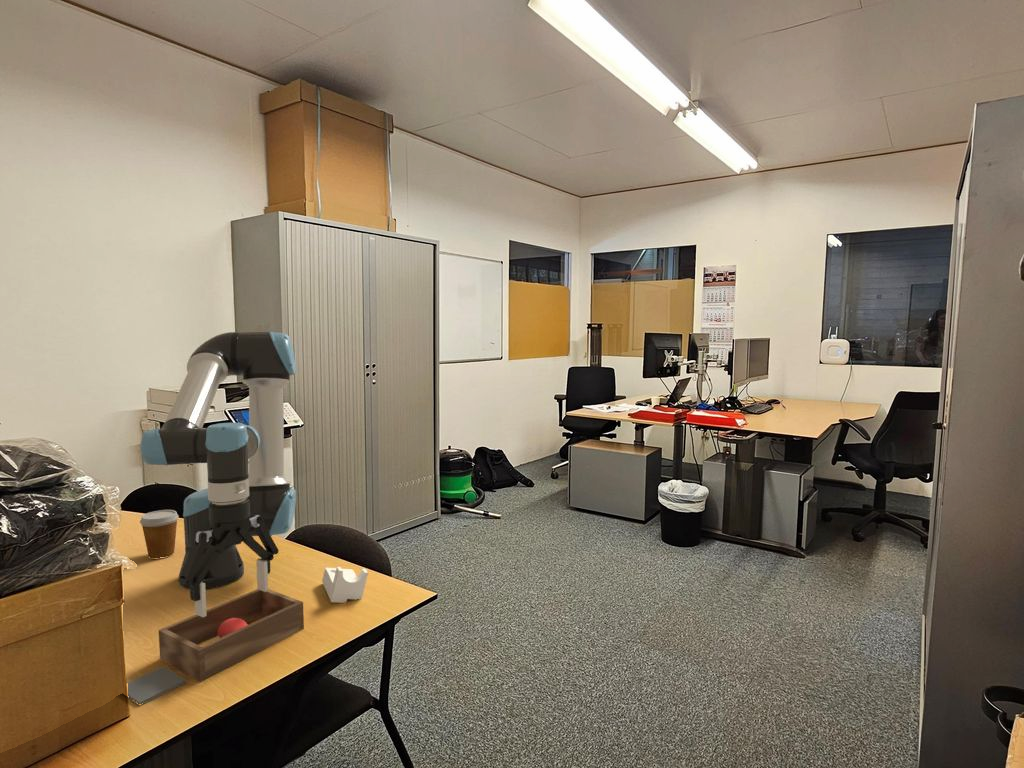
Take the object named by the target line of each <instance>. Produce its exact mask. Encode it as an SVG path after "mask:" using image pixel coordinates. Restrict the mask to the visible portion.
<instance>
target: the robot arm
mask: <svg viewBox="0 0 1024 768" xmlns="http://www.w3.org/2000/svg"><path fill="white" fill-rule="evenodd" d="M186 363H187V364H186V372H187V374H186V376H185V378H184V380H183V383H182V384H181V387H180V389H179V391H178V393H177V396H176V397H175V399H174V402H173V403H172V405H171V408H170V410H169V412H168V414H167V416H166V418H165V421H164V423H163V424H162V426H161V429H160V428H155V429H148V430H147V431H145V432H144V433H143V435H142V437H141V439H140V455H141V457H142V460H143V462H144V463H145V464H147V465H150V466H151V465H152V466H154V465H155V466H159V465H160V466H173V465H189V464H206V468H207V472H206V473H207V488H203V489H201V490H198V491H195V492H193V493H190V494H189V495H188V496H187V497H185V498H184V501H183V512H182V517H183V529H184V543H185V544H184V546H185V554H184V557H183V560H182V563H181V566H180V571H179V574H178V583H179V586H180V587H182V588H184V589H186V590H187V589H188V590H189V598H190V600H191V601H192V602H194V613H195V614H194V615H198V616H201V617H205V616H207V613H206V610H207V595H206V593H207V592H206V590H210V589H215V588H219V587H224V586H226V585H230V584H232V583H234V582H237V580H239V579H241V578H242V577H243V575H244V573H245V565H244V562H243V561H244V560H243V559H242V557H241V555H240V552H239V550H238V547H237V545H241V544H242V543H244V544H245V545H246V546H247V547H248V548H250V550H252V551H253V552H254V553H255V554H256V555H257V556H258V557H259V558H257V559H256V586H257V587H256V590H257V589H258V590H261V591H264V592H266V591H268V589H269V577H268V575H269V574H270V573H271V561H273V560H274V555H278V553H279V549H278V547H277V545H276V543H275V541H274V540H273V537H272V536H275V535H277V536H278V535H283V534H286V533H288V532H289V531H290V529H291V527H292V524H293V521H294V517H295V511H296V510H295V509H296V503H297V501H296V500H297V491H296V489H294V488H291V487H290V486H291V484H290V483H291V482H290V481H289V480H288V479H287V478H286V477H285V476H284V475H285V473H284V466H285V462H284V461H285V459H284V455H285V453H284V452H285V449H284V444H285V442H284V440H285V439H284V438H285V437H284V435H285V434H284V432H285V431H284V425H285V424H284V423H285V421H284V418H285V417H284V415H285V414H284V408H285V407H284V401H285V400H284V398H285V397H284V392H285V391H284V389H285V388H286V386H287V385H288V384H290V376H294V375H295V374H296V358H295V352H294V349H293V344H292V340H291V338H290V336H289V335H288V334H287V333H284V332H274V331H273V332H272V331H264V332H263V331H256V332H253V331H252V332H240V331H239V332H236V331H232V332H230V331H229V332H224V333H219V334H218V335H215V336H213V337H211V338H209V339H208V340H206V341H204V342H203V343H201V344H200V345H199V346H198V347H197V348H196V349H195V350H194V351H193V352H192V354H191V355H190V357H189V359H188V361H187V362H186ZM230 376H231V377H233V376H238V377H239V376H240V377H241V376H242V382H243V383H244V384H245V385H246V386H247V387H248V388H249V389H248V390H249V391H248V392H249V393H248V402H249V403H248V421H249V422H248V425H247V424H244V423H241V422H221V423H220V422H219V423H215V424H211V425H209V426H207V427H204V425H205V422H206V419H207V416H208V414H209V412H210V409H211V407H212V403H213V401H214V400H215V399H214V398H215V396H216V393H217V391H218V389H219V387H220V385H221V383H223V382H224V381H225V380H226V379H227V378H228V377H230ZM254 537H258V538H259V540H260V542H261V543H262V545H263V546H264V547H263V546H262V545H261V544H260V543H259V542H258V541H256V539H255V538H254Z"/></svg>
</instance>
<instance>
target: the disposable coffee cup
mask: <svg viewBox="0 0 1024 768" xmlns="http://www.w3.org/2000/svg"><path fill="white" fill-rule="evenodd" d="M179 517H180V516H179V514H178V513H177V511H176V510H174V509H161V510H160V509H159V510H155V511H154V510H153V511H149V512H147V513H144V514H143V515H141V517H140V518H141V519H140V521H139V523H140V525H141V527H142V531H143V536H144V541H145V546H146V550H147V555H148V558H149V557H150V558H160V557H166V556H169V557H171V556H170V555H172V554H173V553H174V554H175V548H176V537H177V524H178V520H179ZM174 554H173V555H174ZM173 555H172V556H173ZM150 558H149V559H150ZM166 558H167V557H166Z"/></svg>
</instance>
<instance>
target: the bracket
mask: <svg viewBox="0 0 1024 768" xmlns="http://www.w3.org/2000/svg"><path fill="white" fill-rule="evenodd" d="M368 576H369V572H368V571H367V568H361V570H360V572H359V573H358V575H357V574H356V573H355V571H354V569H350V568H349V569H348V568H342V566H336V567H325V568H324V572H323V576H322V579H321V580H322V581H321V582H322V585H323V586H324V589H325V591H326V593H327V596H328V598H329V600H330V603H338V604H339V603H342V604H343V603H347V601H348V600H357V599H359V600H362V599H363V596H364V592H365V588H366V583H367V581H368V580H367V579H368Z"/></svg>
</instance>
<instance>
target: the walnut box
mask: <svg viewBox="0 0 1024 768" xmlns="http://www.w3.org/2000/svg"><path fill="white" fill-rule="evenodd" d="M206 613H207V616H205V617H201V616H198V615H196V614H194V615H191V616H189V617H187V618H185V619H181V620H180V621H177V622H174V623H173V624H170V625H167V626H165V627H163V628H160V629H158V645H159V660H160V661H163V662H164V663H165V664H168V665H170V666H172V667H174V668H175V669H177V670H179V671H180V672H182V673H184V674H186V675H187V676H189V677H191V678H193V679H194V680H196V681H198V682H203V681H205V680H207V679H209V678H211V677H213V676H215V675H217V674H219V673H221V672H222V671H223V672H224V670H227V669H228V668H230V667H232V666H234V665H236V664H238V663H240V662H242V661H244V660H245V659H248V658H249V657H252V656H254V655H255V654H257V653H259V652H261V651H263V650H265V649H267V648H269V647H271V646H273V645H275V644H277V643H280V641H282V640H285V639H287V638H288V637H289V638H290V636H293V635H294V634H296V633H298V632H301V631H302V630H304V629H305V625H304V624H305V623H304V622H305V619H304V617H305V615H304V601H301V600H298V599H296V598H293V597H290V596H287V595H286V594H283V593H280V592H277V591H275V590H272V589H270V588H268V591H266V592H264V591H261V590H258V589H257V588H256V589H255V590H252V591H250V592H247V593H244V594H243V595H239V596H237V597H234V598H233V599H231V600H228V601H225V602H223V603H221V604H218V605H215V606H213V607H211V608H209V609H206ZM261 616H264V617H263V618H261V619H258V620H256V621H254V622H252V623H249V624H248V625H247V626H245V627H243V628H241V629H239V630H236V631H234V632H232V633H230V634H228V635H226V636H223V637H221V638H220V637H219V636H218V629H219V627H220V625H221V624H222V623H223V622H224V621H226V620H228V619H231V618H239V619H242V620H244V621H245V622H246V623H248V622H250V621H253V620H255V619H257V618H259V617H261ZM217 636H218V637H219V638H217V639H215V640H213V641H211V642H208V643H206V644H204V645H202V646H200V644H202V643H204V642H207V641H210V640H211V639H213V638H216V637H217Z"/></svg>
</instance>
